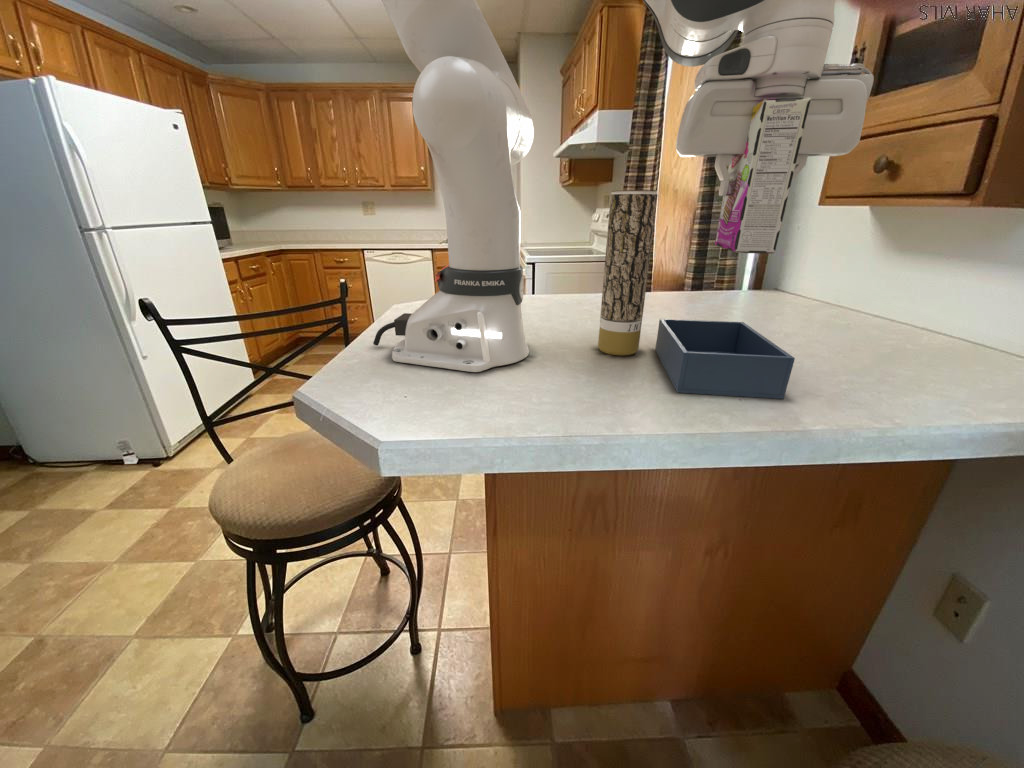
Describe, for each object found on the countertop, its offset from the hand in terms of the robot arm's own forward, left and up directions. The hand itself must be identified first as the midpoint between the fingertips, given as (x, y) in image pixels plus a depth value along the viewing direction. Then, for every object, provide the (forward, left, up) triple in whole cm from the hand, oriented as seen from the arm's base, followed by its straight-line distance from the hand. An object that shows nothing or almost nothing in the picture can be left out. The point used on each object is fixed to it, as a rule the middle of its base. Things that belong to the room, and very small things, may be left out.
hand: (751, 196), depth 54 cm
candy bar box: (0, 0, -7) cm, 7 cm away
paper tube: (-14, +8, -24) cm, 29 cm away
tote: (-1, 0, -24) cm, 24 cm away
